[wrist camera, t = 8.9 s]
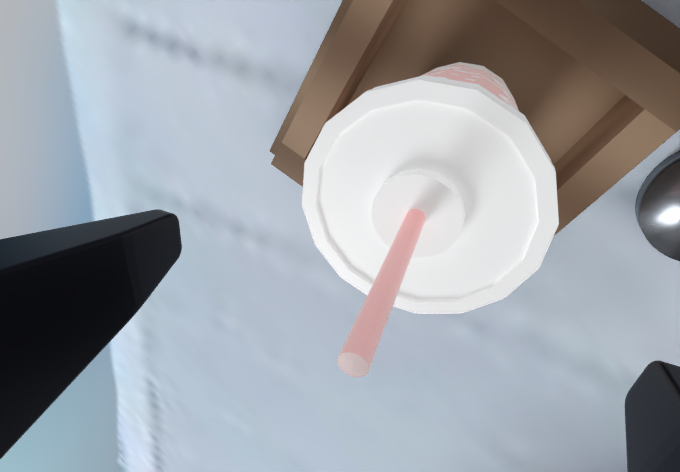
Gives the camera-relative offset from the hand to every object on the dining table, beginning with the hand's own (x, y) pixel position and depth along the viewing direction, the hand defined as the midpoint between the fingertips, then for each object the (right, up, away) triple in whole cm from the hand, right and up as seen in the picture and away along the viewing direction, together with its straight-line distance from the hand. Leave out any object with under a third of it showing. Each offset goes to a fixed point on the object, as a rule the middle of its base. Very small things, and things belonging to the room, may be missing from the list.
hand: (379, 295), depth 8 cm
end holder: (+4, +6, +10) cm, 13 cm away
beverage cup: (+4, +6, +10) cm, 12 cm away
